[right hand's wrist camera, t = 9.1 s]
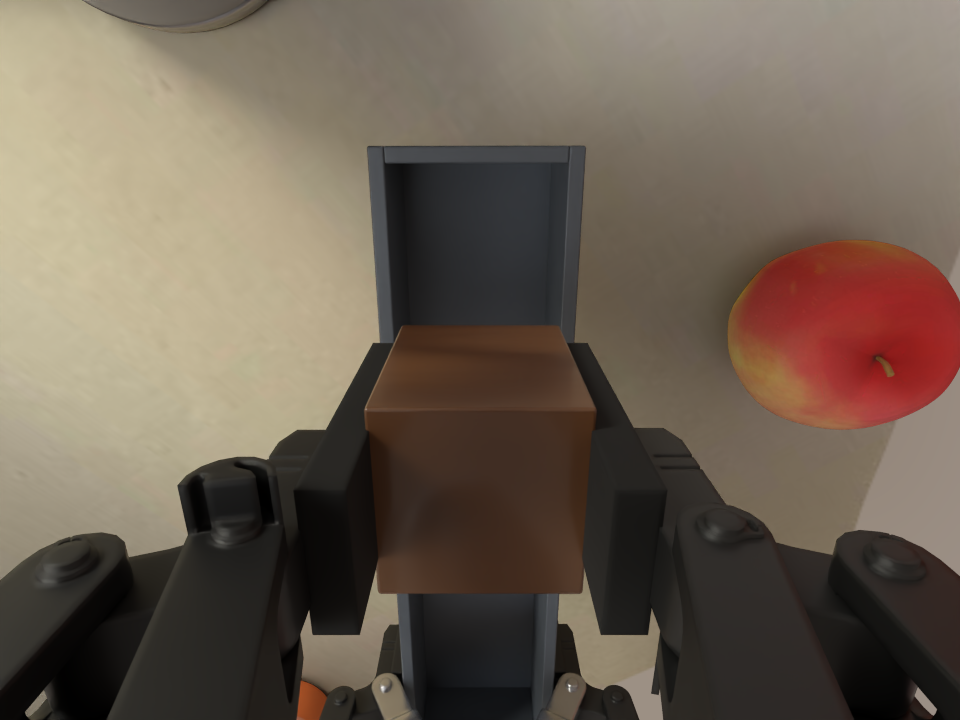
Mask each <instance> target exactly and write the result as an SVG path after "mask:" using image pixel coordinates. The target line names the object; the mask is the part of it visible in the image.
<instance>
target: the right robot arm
mask: <svg viewBox="0 0 960 720" xmlns="http://www.w3.org/2000/svg"><path fill="white" fill-rule="evenodd" d="M83 1H84V2H86V3H88V4H89V5H91V6H93V7H95V8H97V9H99V10H101V11H103V12H105V13H107V14H110V15H112V16H115V17H118V18H120V19H123V20H126V21H128V22H131V23H134V24H137V25H140V26H143V27H147V28H151V29H154V30H160V31H166V32H177V33H192V32H203V31H208V30H214V29H217V28H220V27H224V26H227V25H229V24H232V23H234V22H236V21H239V20H241V19H243V18H244V17H246V16H248V15H249V14H251V13H253V12H254V11H255V10H257V9H258V8H259V7H261V6H262V5H263V4H265V3H266V2H267V1H268V0H83ZM393 344H394V343H373V344H372V346H371V348H370V350H369V352H368V353H367V355H366V357H365V359H364V361H363V363H362V364H361V366H360V368H359V370H358V372H357V374H356V376H355V377H354V379H353V381H352V383H351V385H350V387H349V388H348V390H347V392H346V394H345V396H344V398H343V399H342V401H341V403H340V405H339V407H338V409H337V410H336V412H335V414H334V416H333V418H332V420H331V421H330V423H329V425H328V427H327V429H326V430H296V431H295V432H293V433H292V434H290V435H289V436H287V437H286V438H284V439H283V440H281V441H280V442H279V443H278V444H277V446H276V447H275V449H274V450H273V452H272V453H271V455H270V456H269V459H267V460H265V459H261V458H257V457H234V458H228V459H223V460H218V461H215V462H213V463H210V464H207V465H204V466H202V467H200V468H198V469H196V470H195V471H193V472H191V473H190V474H188V475H186V477H185V478H184V479H183V480H182V481H181V482H180V483H179V484H178V485H177V486H178V491H179V495H180V500H181V504H182V509H183V513H184V518H185V522H186V527H187V532H188V536H187V539H186V541H185V543H184V545H183V546H179V547H175V548H172V549H168V550H163V551H158V552H153V553H148V554H143V555H138V556H133V557H128V553H127V549H126V546H125V542H124V541H123V540H121V539H120V538H119V537H118V536H117V535H112V534H107V533H91V534H81V535H76V536H73V537H71V538H70V537H68V538H65V539H62V540H59V541H57V542H56V543H54V544H51V545H49V546H47V547H45V548H43V549H40V550H39V551H37V552H36V553H34V554H33V555H31V556H30V557H28V558H27V559H26V560H24V561H23V562H21V563H20V564H19V565H18V566H17V567H15V568H14V569H13V570H12V571H11V572H9V573H8V574H7V575H6V576H5V577H4V578H2V579H1V580H0V720H297V713H298V704H299V694H300V685H301V676H302V667H303V658H304V657H303V650H302V644H301V637H300V633H301V630H302V628H303V625H304V622H305V620H306V617H307V614H308V611H310V619H311V626H312V633H313V635H360V632H361V627H362V623H363V619H364V615H365V611H366V607H367V603H368V599H369V595H370V591H371V587H372V583H373V579H374V575H375V571H376V567H377V562H378V546H377V533H376V519H375V506H374V493H373V480H372V466H371V453H370V440H369V431H367V430H366V429H365V418H364V409H365V406H366V404H367V402H368V400H369V398H370V395H371V393H372V391H373V389H374V387H375V384H376V382H377V380H378V378H379V375H380V373H381V371H382V369H383V367H384V364H385V362H386V360H387V358H388V356H389V353H390V351H391V349H392V347H393ZM567 345H568V347H569V350H570V352H571V354H572V356H573V358H574V361H575V363H576V365H577V367H578V370H579V372H580V374H581V376H582V378H583V381H584V383H585V385H586V387H587V390H588V392H589V394H590V396H591V398H592V401H593V403H594V405H595V407H596V410H597V413H596V426H595V430H594V431H592V436H591V449H590V462H589V475H588V488H587V501H586V515H585V528H584V541H583V554H582V560H583V564H584V568H585V572H586V576H587V580H588V584H589V588H590V593H591V597H592V601H593V605H594V609H595V613H596V617H597V621H598V625H599V629H600V633H601V635H648V630H649V623H650V616H651V608H652V610H653V612H654V615H655V618H656V620H657V623H658V626H659V629H660V637H659V644H658V650H657V657H656V664H655V671H654V678H653V685H652V692H651V693H652V694H657V695H659V690H660V693H661V702H662V711H663V720H960V576H959V575H958V574H956V573H955V572H954V571H953V570H952V569H951V568H949V567H948V566H947V565H946V564H945V563H943V562H942V561H941V560H940V559H938V558H937V557H935V556H934V555H932V554H931V553H930V552H928V551H927V550H925V549H924V548H922V547H920V546H918V545H916V544H913V543H911V542H909V541H907V540H905V539H903V538H901V537H898V536H895V535H889V534H888V533H883V532H875V531H864V530H858V531H852V532H847V533H844V534H843V535H842V536H841V537H839V538H838V539H837V541H836V545H835V548H834V552H833V555H829V554H824V553H820V552H815V551H810V550H805V549H800V548H795V547H791V546H787V545H783V544H779V543H776V542H775V540H774V538H773V535H772V534H771V532H770V531H769V530H768V528H767V527H766V526H765V524H764V523H763V522H761V521H760V520H759V519H757V518H756V517H754V516H753V515H751V514H750V513H748V512H745V511H743V510H741V509H738V508H736V507H734V506H730V505H726V504H725V502H724V501H723V499H722V498H721V497H720V495H719V494H718V492H717V491H716V489H715V488H714V486H713V485H712V483H711V482H710V480H709V479H708V478H707V476H706V475H705V473H704V472H703V470H702V469H700V466H699V464H698V463H697V462H696V460H695V459H694V457H692V454H691V453H690V451H689V450H688V448H687V447H686V446H685V444H684V443H683V441H682V440H681V439H679V438H678V437H676V436H675V435H673V434H672V433H670V432H669V431H667V430H666V429H664V428H633V426H632V424H631V422H630V420H629V418H628V417H627V415H626V413H625V411H624V409H623V407H622V406H621V404H620V402H619V400H618V398H617V396H616V395H615V393H614V391H613V389H612V387H611V385H610V384H609V382H608V380H607V378H606V376H605V374H604V373H603V371H602V369H601V367H600V365H599V363H598V362H597V360H596V358H595V356H594V354H593V352H592V350H591V349H590V347H589V345H588V343H567ZM918 687H919V689H920V690H921V691H922V692H923V693H924V694H925V696H926V697H927V698H928V699H929V700H930V701H931V703H932V704H933V705H934V706H935V707H936V708H937V711H936V714H935V715H934V716H933V715H931V714H930V713H929V712H928V711H927V710H926V709H925V708H924V707H923V706H922V705H921V704H920V702H919V701H918V700H917V699H916V698H915V693H916V690H917V688H918ZM43 690H44V691H45V693H46V696H47V699H46V700H45V702H44V703H43V704H42V705H41V706H40V708H39V709H38V710H37V711H36V712H34V713H33V714H32V715H31V716H30V717H29V718H28V717H27V716H26V714H25V711H26V710H27V709H28V708H29V706H30V705H31V704H32V703H33V702H34V701H35V699H36V698H37V697H38V696H39V695H40V694H41V692H42V691H43Z"/></svg>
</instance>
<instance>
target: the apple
mask: <svg viewBox="0 0 960 720" xmlns="http://www.w3.org/2000/svg"><path fill="white" fill-rule="evenodd" d="M728 349H729V354H730V358H731V361H732V364H733V367H734V369H735V371H736V373H737V375H738V377H739V379H740V380H741V382H742V384H743V385H744V387H745V388H746V390H747V391H748V392H749V393H750V395H751V396H752V397H753V398H754V399H755V400H756V401H757V402H758V403H759V404H760V405H762V406H763V407H764V408H766V409H767V410H769V411H771V412H772V413H774V414H776V415H778V416H780V417H782V418H785V419H787V420H790V421H793V422H797V423H800V424H804V425H808V426H813V427H819V428H825V429H838V430H844V429H858V428H866V427H871V426H876V425H880V424H884V423H887V422H890V421H894V420H897V419H899V418H902V417H904V416H907V415H909V414H911V413H913V412H915V411H917V410H919V409H921V408H923V407H925V406H926V405H928V404H929V403H931V402H932V401H934V400H935V399H936V398H938V397H939V396H940V395H941V394H942V393H943V392H944V391H945V390H946V389H947V387H948V386H949V385H950V383H951V382H952V380H953V379H954V377H955V375H956V374H957V372H958V370H959V368H960V301H959V299H958V297H957V295H956V293H955V291H954V290H953V288H952V286H951V285H950V283H949V282H948V280H947V279H946V278H945V277H944V275H943V274H942V273H941V272H940V271H939V270H938V269H937V268H936V267H935V266H934V265H932V264H931V263H930V262H929V261H927V260H926V259H924V258H923V257H921V256H919V255H917V254H915V253H914V252H912V251H909V250H907V249H905V248H902V247H898V246H895V245H892V244H888V243H882V242H876V241H867V240H841V241H833V242H827V243H822V244H818V245H814V246H810V247H807V248H803V249H800V250H797V251H794V252H791V253H788V254H786V255H783V256H781V257H778V258H776V259H774V260H773V261H771V262H770V263H768V264H767V265H766V266H765V267H763V268H762V269H761V270H760V271H759V272H758V273H757V274H756V275H755V276H754V278H753V279H752V280H751V281H750V283H749V284H748V285H747V286H746V288H745V289H744V290H743V292H742V293H741V294H740V296H739V297H738V299H737V300H736V302H735V304H734V305H733V307H732V310H731V312H730V315H729V321H728Z"/></svg>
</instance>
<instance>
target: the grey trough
mask: <svg viewBox="0 0 960 720" xmlns="http://www.w3.org/2000/svg"><path fill="white" fill-rule="evenodd" d="M367 153H368V168H369V183H370V198H371V213H372V228H373V243H374V258H375V273H376V288H377V303H378V318H379V333H380V343H394V342H395V340H396V338H397V336H398V333H399V331H400V329H401V327H402V326H403V325H557V326H559V327H560V330H561V332H562V334H563V336H564V339H565V341H566V343H574V338H575V321H576V304H577V288H578V271H579V254H580V237H581V221H582V204H583V187H584V170H585V154H586V147H585V146H368V147H367ZM397 602H398V617H399V632H400V647H401V662H402V677H403V689H404V691H405V693H406V695H407V697H408V699H409V701H410V704H411V706H412V708H413V709H414V708H416V709H417V711H418V712H419V714H420V716H421V719H422V720H536V719H537V717H538V715H539V712H540V711H541V709H542V708H544V709H545V708H546V706H547V704H548V702H549V700H550V697H551V695H552V693H553V689H554V672H555V655H556V639H557V622H558V605H559V594H397Z"/></svg>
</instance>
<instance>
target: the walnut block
mask: <svg viewBox="0 0 960 720" xmlns="http://www.w3.org/2000/svg"><path fill="white" fill-rule="evenodd" d="M596 413H597V410H596V407H595V405H594V403H593V401H592V398H591V396H590V394H589V392H588V390H587V387H586V385H585V383H584V381H583V378H582V376H581V374H580V372H579V370H578V367H577V365H576V363H575V361H574V358H573V356H572V354H571V352H570V350H569V347H568V345H567V343H566V341H565V339H564V336H563V334H562V332H561V330H560V327H559V326H557V325H403V326H402V327H401V329H400V331H399V333H398V336H397V338H396V340H395V342H394V344H393V347H392V349H391V351H390V353H389V356H388V358H387V360H386V362H385V364H384V367H383V369H382V371H381V373H380V375H379V378H378V380H377V382H376V384H375V387H374V389H373V391H372V393H371V395H370V398H369V400H368V402H367V404H366V406H365V409H364V418H365V429H366V430H367V431H369V440H370V453H371V466H372V480H373V493H374V506H375V519H376V533H377V546H378V562H377V567H376V573H377V585H378V592H379V593H381V594H580V593H582V590H583V579H584V564H583V560H582V554H583V541H584V528H585V515H586V501H587V488H588V475H589V462H590V449H591V436H592V431H594V430H595V426H596Z"/></svg>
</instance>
